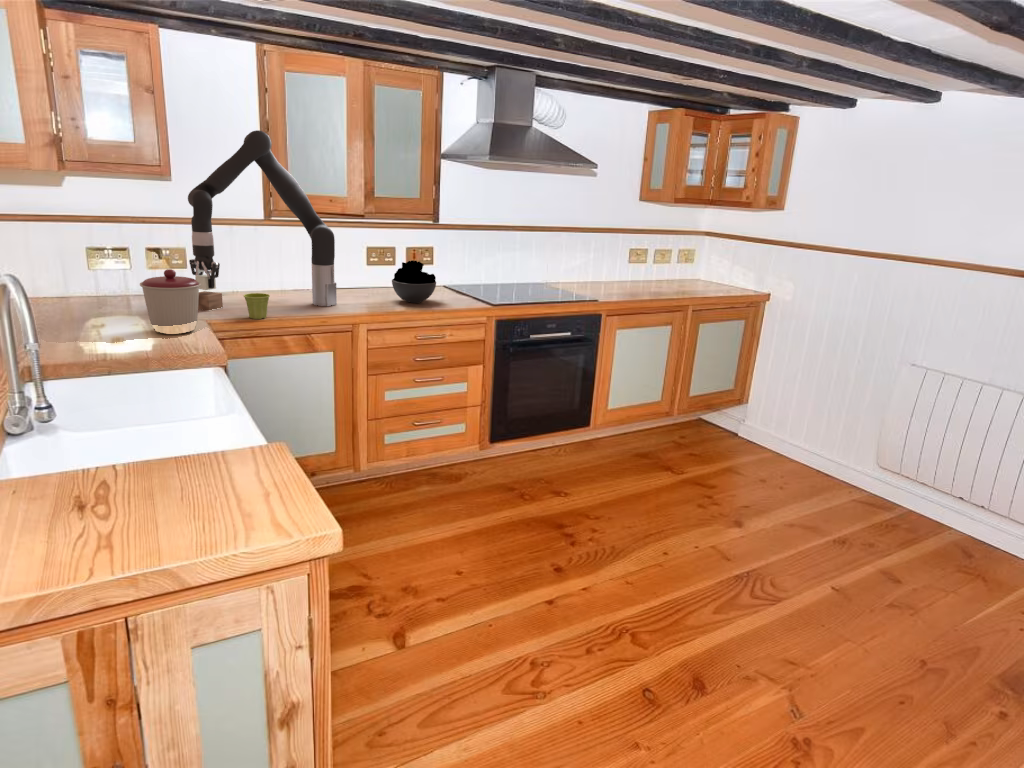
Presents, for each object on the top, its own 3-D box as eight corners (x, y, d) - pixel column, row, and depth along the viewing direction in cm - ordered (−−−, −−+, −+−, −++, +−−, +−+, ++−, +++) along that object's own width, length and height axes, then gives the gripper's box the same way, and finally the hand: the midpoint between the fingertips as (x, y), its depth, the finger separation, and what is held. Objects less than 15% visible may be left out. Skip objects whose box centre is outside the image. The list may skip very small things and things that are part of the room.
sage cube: (216, 288, 257) (215, 276, 256) (205, 290, 253) (204, 277, 251) (206, 287, 259) (205, 274, 258) (196, 288, 255) (195, 275, 253)
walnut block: (222, 308, 261) (221, 293, 259) (209, 311, 254) (208, 296, 252) (205, 305, 263) (204, 291, 261) (191, 309, 256) (190, 294, 254)
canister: (133, 331, 218) (126, 268, 211) (183, 323, 232) (178, 264, 226) (165, 340, 209) (159, 275, 203) (215, 332, 224) (211, 270, 218)
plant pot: (243, 320, 243) (242, 297, 241) (245, 314, 252) (244, 292, 249) (270, 320, 246) (269, 297, 243) (271, 315, 254) (270, 293, 252)
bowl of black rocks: (427, 298, 312) (428, 258, 306) (441, 306, 295) (443, 264, 289) (386, 298, 303) (386, 258, 297) (399, 307, 286) (399, 264, 280)
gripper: (224, 245, 251) (227, 288, 257) (197, 241, 257) (200, 284, 262) (208, 246, 245) (211, 291, 250) (181, 242, 250) (184, 286, 255)
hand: (206, 287), depth 256 cm, fingers closed on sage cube, 5 cm apart
